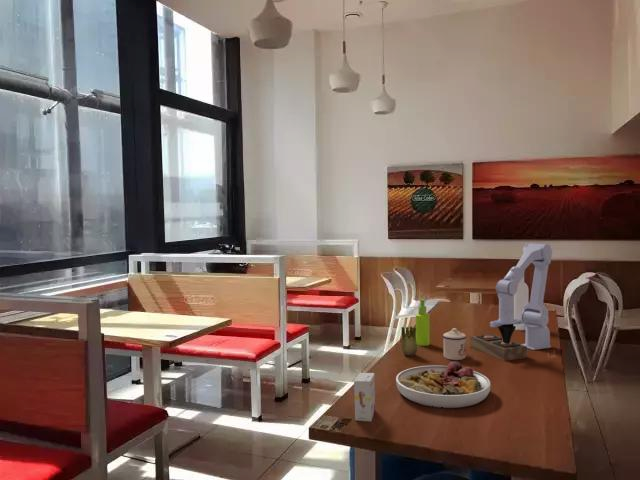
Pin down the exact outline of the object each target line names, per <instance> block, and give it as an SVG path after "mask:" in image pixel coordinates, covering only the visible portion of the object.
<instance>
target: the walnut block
mask: <svg viewBox="0 0 640 480" xmlns="http://www.w3.org/2000/svg"><path fill="white" fill-rule="evenodd" d="M484 336H494V338H492V339H486V338H484ZM469 342H470V343H469V346H470V348H471V349H474V350H476V351H479V352H481V353H483V354H487V355H489V356H491V357H494V358H496V359H500V360H501V361H505V362H507V361H511V360H520V359H526V358H528V348H527V346H524V345H522V344H523V343H522V344H521V343H518V342H516V341H512V340H510V342H511V343H512V345H503V344H501V342H503V338H502V336H501V337H500V336H498V335H495V334H492V333H489V334H480V335H474V336H473V335H472V336H470V337H469Z"/></svg>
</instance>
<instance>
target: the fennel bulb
mask: <svg viewBox="0 0 640 480" xmlns="http://www.w3.org/2000/svg"><path fill="white" fill-rule="evenodd" d="M400 330H401V342H400V343H401V350H402V353H403V354H404V355H405V356H408V357H413V356H415V355H416V354H417V353H418V345H417V343H416V326H412V325H410V326H401V329H400Z"/></svg>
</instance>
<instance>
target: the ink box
mask: <svg viewBox="0 0 640 480" xmlns="http://www.w3.org/2000/svg"><path fill="white" fill-rule="evenodd" d="M353 387H354V390H353V391H354V421H361V422H372V420H373V417H374V414H375V412H376V403H375V402H376V399H375V398H376V394H375V393H376V391H375V390H376V389H375V373H374V372H359V373H358V374H357V376H356V377H355V379H354V380H353Z"/></svg>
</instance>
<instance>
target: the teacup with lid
mask: <svg viewBox="0 0 640 480" xmlns="http://www.w3.org/2000/svg"><path fill="white" fill-rule="evenodd" d="M442 339H443V341H442V342H443V358H445V359H447V360H452V361H459V360H460V361H461V360H464V359H466V355H467V353H466V350H467V348H466V344H467V343H466V341H467V340H466V339H467V335H466V334H465V333H464V332H460V331H459V330H458V329H457V328H455V327H454V328H452V329H451V330H450V331H448V332H444V333H443V335H442Z"/></svg>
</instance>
